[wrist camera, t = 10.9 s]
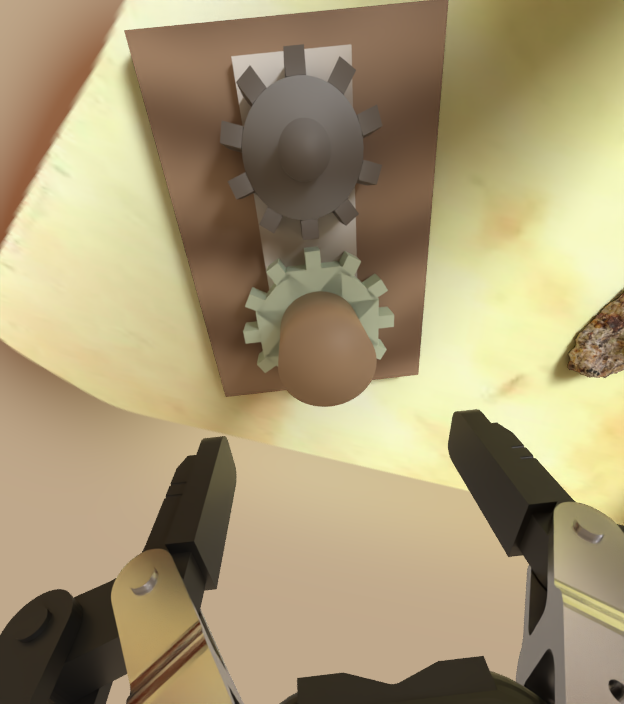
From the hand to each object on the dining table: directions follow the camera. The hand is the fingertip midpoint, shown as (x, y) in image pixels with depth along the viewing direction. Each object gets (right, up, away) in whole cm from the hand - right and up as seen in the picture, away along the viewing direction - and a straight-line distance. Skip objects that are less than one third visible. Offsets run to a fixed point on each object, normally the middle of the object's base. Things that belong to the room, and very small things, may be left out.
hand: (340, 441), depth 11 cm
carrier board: (-1, +11, +11) cm, 15 cm away
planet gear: (-1, +6, +11) cm, 12 cm away
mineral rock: (+26, +5, +16) cm, 31 cm away
